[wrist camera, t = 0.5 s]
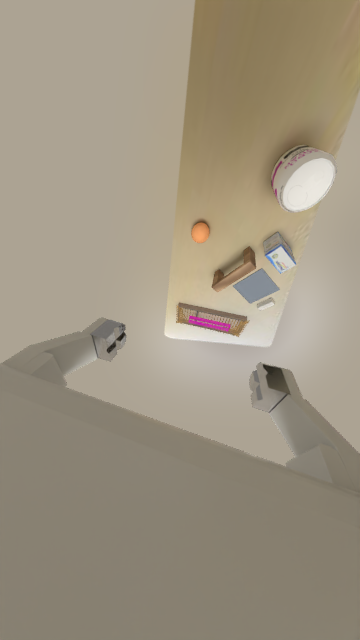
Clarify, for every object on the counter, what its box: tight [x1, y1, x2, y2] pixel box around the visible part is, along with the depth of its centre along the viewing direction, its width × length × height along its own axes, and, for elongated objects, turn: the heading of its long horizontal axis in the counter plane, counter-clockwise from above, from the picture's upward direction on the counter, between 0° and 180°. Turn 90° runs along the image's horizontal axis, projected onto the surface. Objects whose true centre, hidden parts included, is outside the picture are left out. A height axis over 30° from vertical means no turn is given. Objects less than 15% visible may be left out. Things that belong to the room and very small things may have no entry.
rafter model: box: [176, 303, 249, 337], centre depth 79 cm, size 35×14×6 cm, turn 88°
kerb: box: [257, 298, 275, 311], centre depth 64 cm, size 6×2×2 cm, turn 141°
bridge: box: [212, 246, 256, 292], centre depth 53 cm, size 3×14×9 cm, turn 141°
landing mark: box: [233, 269, 280, 303], centre depth 61 cm, size 12×12×1 cm
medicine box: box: [263, 232, 296, 274], centre depth 45 cm, size 8×4×9 cm, turn 52°
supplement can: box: [271, 145, 337, 212], centre depth 31 cm, size 8×8×15 cm
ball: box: [191, 223, 209, 243], centre depth 48 cm, size 6×6×6 cm
